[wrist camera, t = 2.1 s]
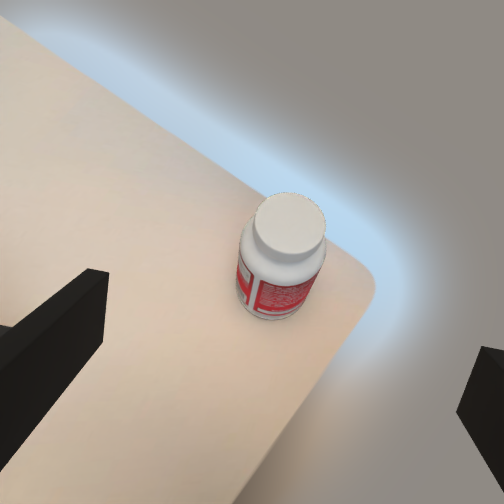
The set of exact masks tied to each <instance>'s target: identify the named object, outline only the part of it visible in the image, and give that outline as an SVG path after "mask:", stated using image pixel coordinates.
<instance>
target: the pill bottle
mask: <svg viewBox="0 0 504 504" xmlns="http://www.w3.org/2000/svg"><path fill="white" fill-rule="evenodd" d="M325 229H326V222H325V218H324V215H323V213H322V211H321V209H320V208H319V207H318V205H316V204H315V203H314V202H313V201H312V200H310V199H309V198H307V197H305V196H303V195H300V194H296V193H279V194H275V195H273V196H270V197H268V198H267V199H265V200H264V201H263V202H262V203H261V204H260V205H259V207H258V209H257V211H256V213H255V215H254V216H253V217H252V218H251V219H250V220H249V221H248V222H247V223H246V225H245V227H244V229H243V231H242V234H241V238H240V246H239V256H238V265H237V275H236V290H237V294H238V297H239V299H240V301H241V303H242V304H243V306H244V307H245V308H246V309H247V310H248V311H250V312H251V313H252V314H254V315H256V316H258V317H261V318H264V319H269V320H277V319H282V318H286V317H288V316H290V315H292V314H293V313H295V312H296V311H297V310H298V309H299V308H300V307H301V306H302V304H303V303H304V301H305V299H306V297H307V295H308V293H309V291H310V289H311V287H312V285H313V283H314V281H315V279H316V277H317V275H318V273H319V271H320V269H321V267H322V264H323V262H324V259H325V256H326V240H325V236H324V234H325Z"/></svg>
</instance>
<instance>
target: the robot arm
mask: <svg viewBox="0 0 504 504" xmlns="http://www.w3.org/2000/svg"><path fill="white" fill-rule="evenodd" d="M108 281H109V272H104V271H99V270H94V269H89V268H87V269H86V270H85V271H84V272H82V273H81V274H80V275H79V276H77V277H76V278H75V279H73V280H72V281H71V282H70V283H68V284H67V285H66V286H64V287H63V288H62V289H61V290H59V291H58V292H57V293H56V294H54V295H53V296H52V297H50V298H49V299H48V300H47V301H45V302H44V303H43V304H42V305H40V306H39V307H38V308H36V309H35V310H34V311H33V312H31V313H30V314H29V315H27V316H26V317H25V318H24V319H22V320H21V321H20V322H19V323H17V324H16V325H15V326H13V327H8V326H3V325H0V472H1V470H2V469H3V468H4V467H5V465H6V464H7V463H8V462H9V460H10V459H11V458H12V456H13V455H14V454H15V453H16V451H17V450H18V449H19V448H20V446H21V445H22V444H23V443H24V441H25V440H26V439H27V437H28V436H29V435H30V434H31V432H32V431H33V430H34V429H35V427H36V426H37V425H38V424H39V422H40V421H41V420H42V419H43V417H44V416H45V415H46V413H47V412H48V411H49V410H50V408H51V407H52V406H53V405H54V403H55V402H56V401H57V400H58V398H59V397H60V396H61V394H62V393H63V392H64V391H65V389H66V388H67V387H68V386H69V384H70V383H71V382H72V381H73V379H74V378H75V377H76V375H77V374H78V373H79V372H80V370H81V369H82V368H83V367H84V365H85V364H86V363H87V362H88V360H89V359H90V358H91V356H92V355H93V354H94V353H95V351H96V350H97V349H98V348H99V346H100V345H101V344H102V343H103V334H104V323H105V313H106V302H107V292H108ZM456 413H457V415H458V416H459V418H460V419H461V421H462V423H463V425H464V426H465V428H466V430H467V431H468V433H469V435H470V436H471V438H472V440H473V441H474V443H475V445H476V446H477V448H478V450H479V452H480V453H481V455H482V456H483V458H484V460H485V462H486V463H487V465H488V467H489V468H490V470H491V472H492V474H493V475H494V477H495V478H496V480H497V482H498V484H499V485H500V487H501V489H502V490H503V492H504V350H499V349H494V348H489V347H484V346H481V349H480V352H479V354H478V356H477V359H476V362H475V365H474V367H473V369H472V372H471V375H470V377H469V380H468V382H467V385H466V388H465V390H464V393H463V395H462V398H461V401H460V403H459V406H458V408H457V411H456Z"/></svg>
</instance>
